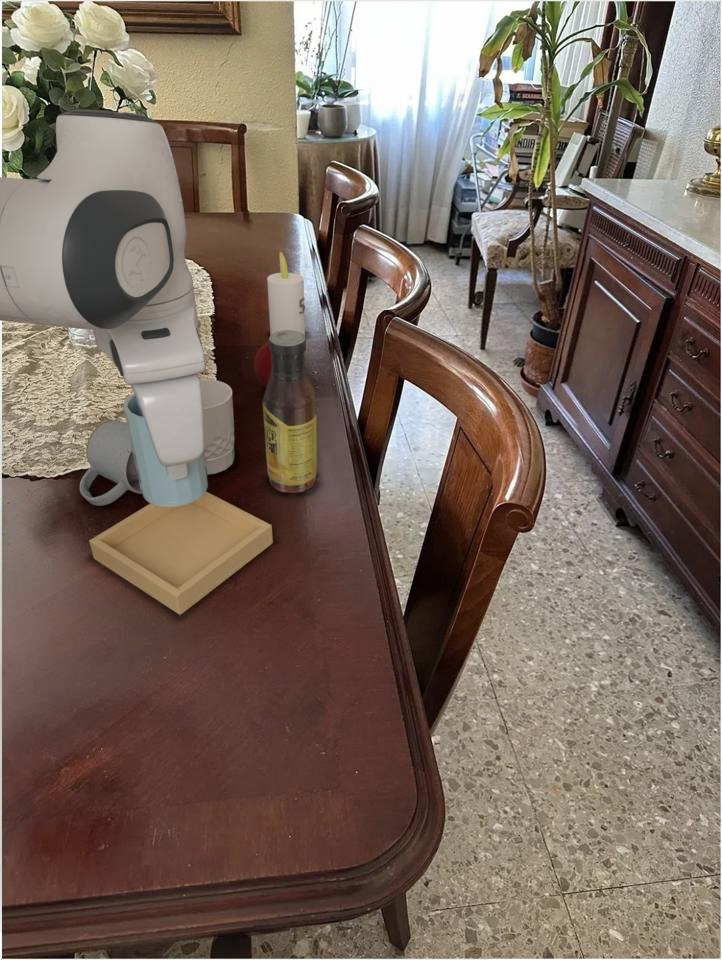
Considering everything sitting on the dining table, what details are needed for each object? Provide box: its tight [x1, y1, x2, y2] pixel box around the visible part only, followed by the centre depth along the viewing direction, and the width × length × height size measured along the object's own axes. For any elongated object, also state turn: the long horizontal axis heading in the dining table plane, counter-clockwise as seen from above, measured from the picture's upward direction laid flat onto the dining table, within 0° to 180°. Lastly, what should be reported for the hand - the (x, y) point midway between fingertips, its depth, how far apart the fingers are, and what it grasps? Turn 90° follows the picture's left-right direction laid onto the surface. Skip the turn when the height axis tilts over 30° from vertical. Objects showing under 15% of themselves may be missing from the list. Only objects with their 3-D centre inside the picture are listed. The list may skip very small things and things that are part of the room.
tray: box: [88, 491, 274, 616], centre depth 72 cm, size 14×14×3 cm
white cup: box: [200, 378, 236, 475], centre depth 84 cm, size 8×8×10 cm
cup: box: [122, 392, 209, 507], centre depth 65 cm, size 7×7×10 cm
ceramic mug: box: [79, 420, 142, 507], centre depth 80 cm, size 11×8×8 cm
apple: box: [253, 341, 272, 389], centre depth 102 cm, size 8×8×8 cm
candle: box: [266, 251, 306, 337], centre depth 117 cm, size 6×6×15 cm
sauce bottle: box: [262, 330, 318, 494], centre depth 78 cm, size 7×6×20 cm
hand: (169, 454), depth 65 cm, fingers closed on cup, 7 cm apart
